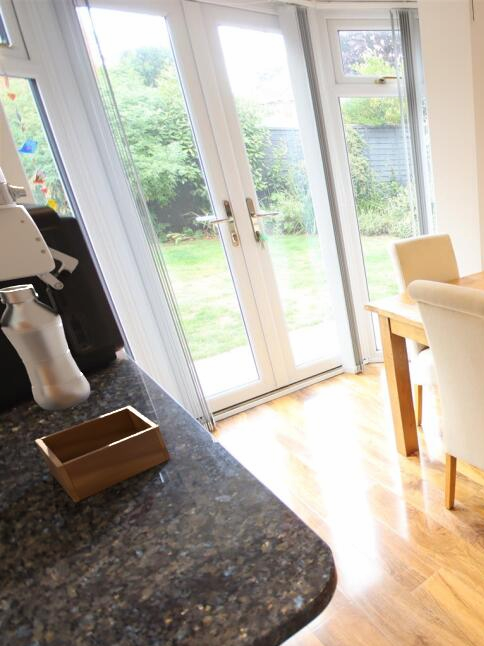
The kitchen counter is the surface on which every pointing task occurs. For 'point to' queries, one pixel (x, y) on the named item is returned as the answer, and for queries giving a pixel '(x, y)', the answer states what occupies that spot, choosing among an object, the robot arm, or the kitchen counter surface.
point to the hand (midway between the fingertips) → (30, 319)
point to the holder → (103, 452)
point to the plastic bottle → (42, 349)
